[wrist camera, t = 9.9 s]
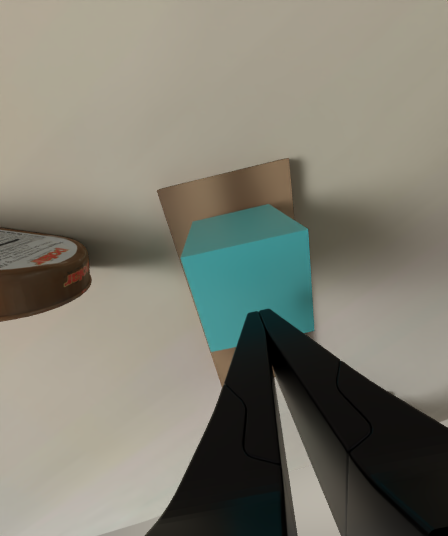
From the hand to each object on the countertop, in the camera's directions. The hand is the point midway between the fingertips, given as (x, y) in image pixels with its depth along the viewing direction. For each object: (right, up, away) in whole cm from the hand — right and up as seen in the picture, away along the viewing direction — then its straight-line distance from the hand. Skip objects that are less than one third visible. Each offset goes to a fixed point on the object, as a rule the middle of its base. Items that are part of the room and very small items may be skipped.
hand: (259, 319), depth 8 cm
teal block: (0, +3, +8) cm, 8 cm away
